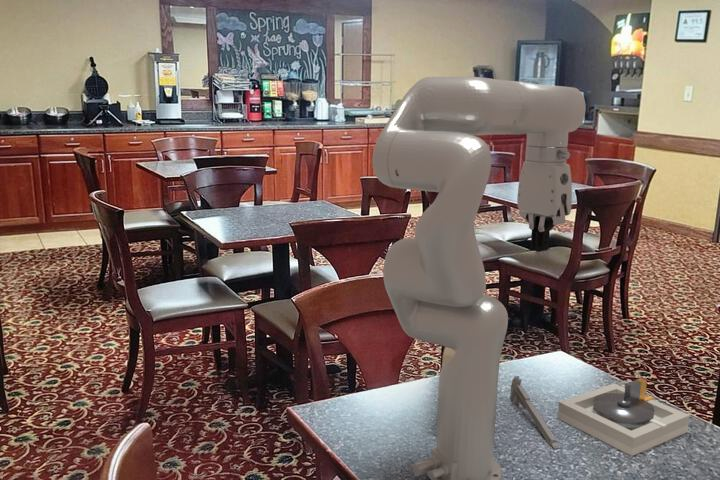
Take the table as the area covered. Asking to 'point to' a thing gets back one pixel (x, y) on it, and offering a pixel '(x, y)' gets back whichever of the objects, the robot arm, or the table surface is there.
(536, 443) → the table surface
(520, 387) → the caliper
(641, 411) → the grey round piece
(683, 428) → the tray
